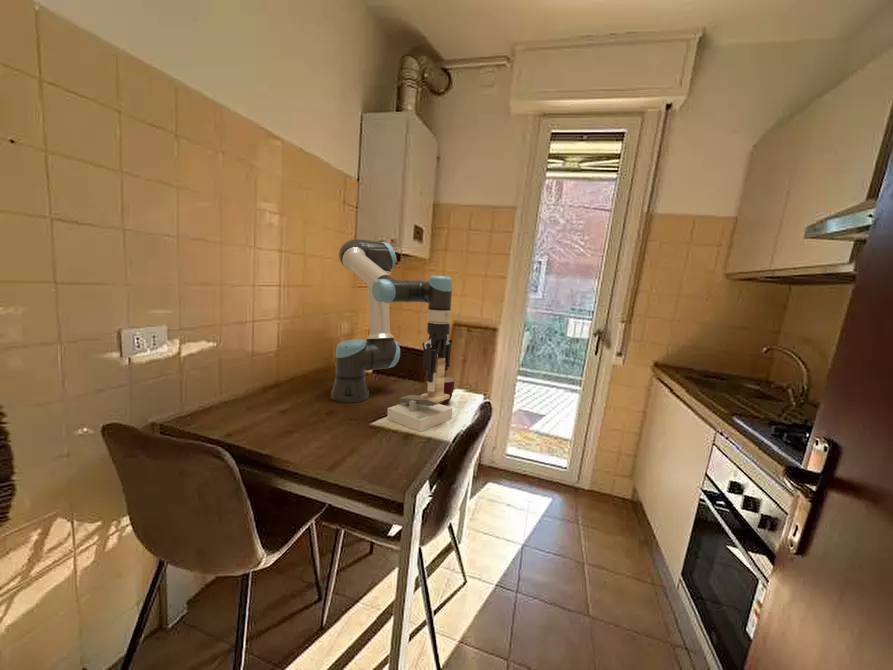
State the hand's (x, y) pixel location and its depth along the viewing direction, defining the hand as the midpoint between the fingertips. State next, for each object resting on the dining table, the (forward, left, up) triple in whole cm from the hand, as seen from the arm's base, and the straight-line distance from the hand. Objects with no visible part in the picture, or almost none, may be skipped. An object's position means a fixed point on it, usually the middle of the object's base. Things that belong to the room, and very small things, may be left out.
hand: (435, 389), depth 130 cm
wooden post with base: (0, 0, -3) cm, 3 cm away
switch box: (-7, 0, -12) cm, 14 cm away
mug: (-11, +18, -13) cm, 24 cm away
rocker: (-7, 0, -5) cm, 9 cm away
